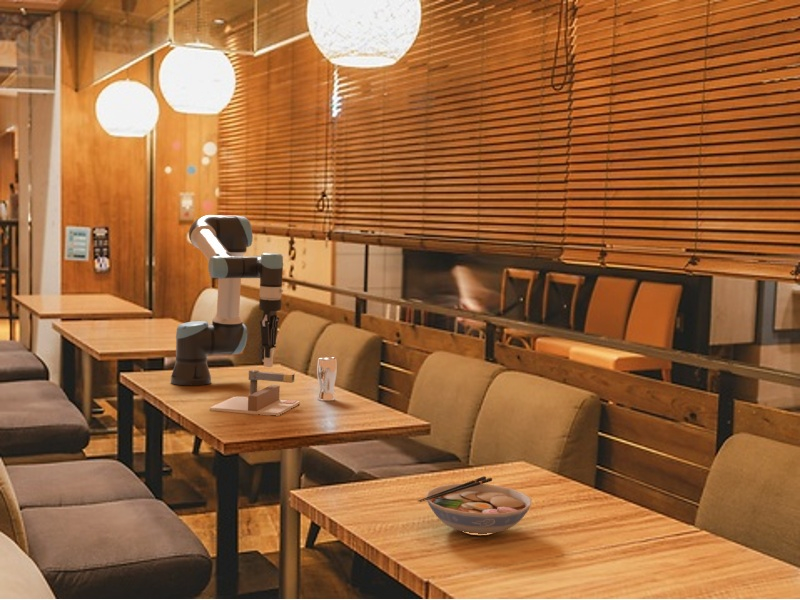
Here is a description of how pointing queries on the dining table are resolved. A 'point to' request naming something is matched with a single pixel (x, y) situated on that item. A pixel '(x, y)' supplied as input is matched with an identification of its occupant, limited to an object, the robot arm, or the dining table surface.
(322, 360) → the beer glass
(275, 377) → the swing bar
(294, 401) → the lock base
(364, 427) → the dining table surface
